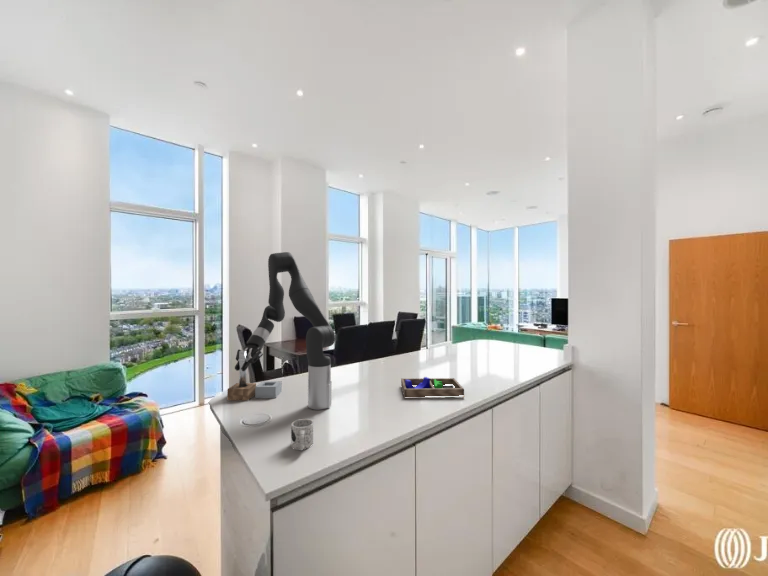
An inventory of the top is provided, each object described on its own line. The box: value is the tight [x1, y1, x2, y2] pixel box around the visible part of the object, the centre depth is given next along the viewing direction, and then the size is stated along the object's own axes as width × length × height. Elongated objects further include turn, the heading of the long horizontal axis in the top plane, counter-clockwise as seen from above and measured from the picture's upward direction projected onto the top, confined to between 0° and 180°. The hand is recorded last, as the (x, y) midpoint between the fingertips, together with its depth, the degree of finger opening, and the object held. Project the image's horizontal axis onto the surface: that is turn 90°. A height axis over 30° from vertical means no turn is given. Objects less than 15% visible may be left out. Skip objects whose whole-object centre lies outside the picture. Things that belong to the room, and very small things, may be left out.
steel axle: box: [238, 351, 247, 387], centre depth 142 cm, size 3×3×16 cm
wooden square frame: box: [226, 382, 257, 401], centre depth 142 cm, size 9×9×5 cm
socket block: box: [254, 380, 283, 399], centre depth 145 cm, size 9×9×5 cm
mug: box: [290, 418, 314, 451], centre depth 96 cm, size 10×7×7 cm
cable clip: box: [405, 376, 431, 389], centre depth 150 cm, size 12×4×6 cm, turn 118°
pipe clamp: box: [434, 379, 443, 389], centre depth 151 cm, size 11×4×5 cm, turn 173°
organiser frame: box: [400, 377, 465, 398], centre depth 150 cm, size 27×18×4 cm, turn 91°
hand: (239, 369), depth 140 cm, fingers closed on steel axle, 3 cm apart
